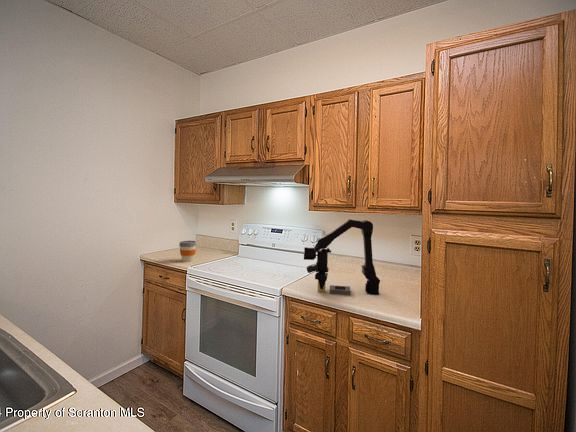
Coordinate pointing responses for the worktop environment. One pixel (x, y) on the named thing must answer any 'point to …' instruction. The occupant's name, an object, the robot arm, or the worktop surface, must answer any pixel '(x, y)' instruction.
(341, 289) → the steel rail
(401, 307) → the worktop surface
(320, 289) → the brass block
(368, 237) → the robot arm
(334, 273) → the worktop surface
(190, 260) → the reusable coffee cup
